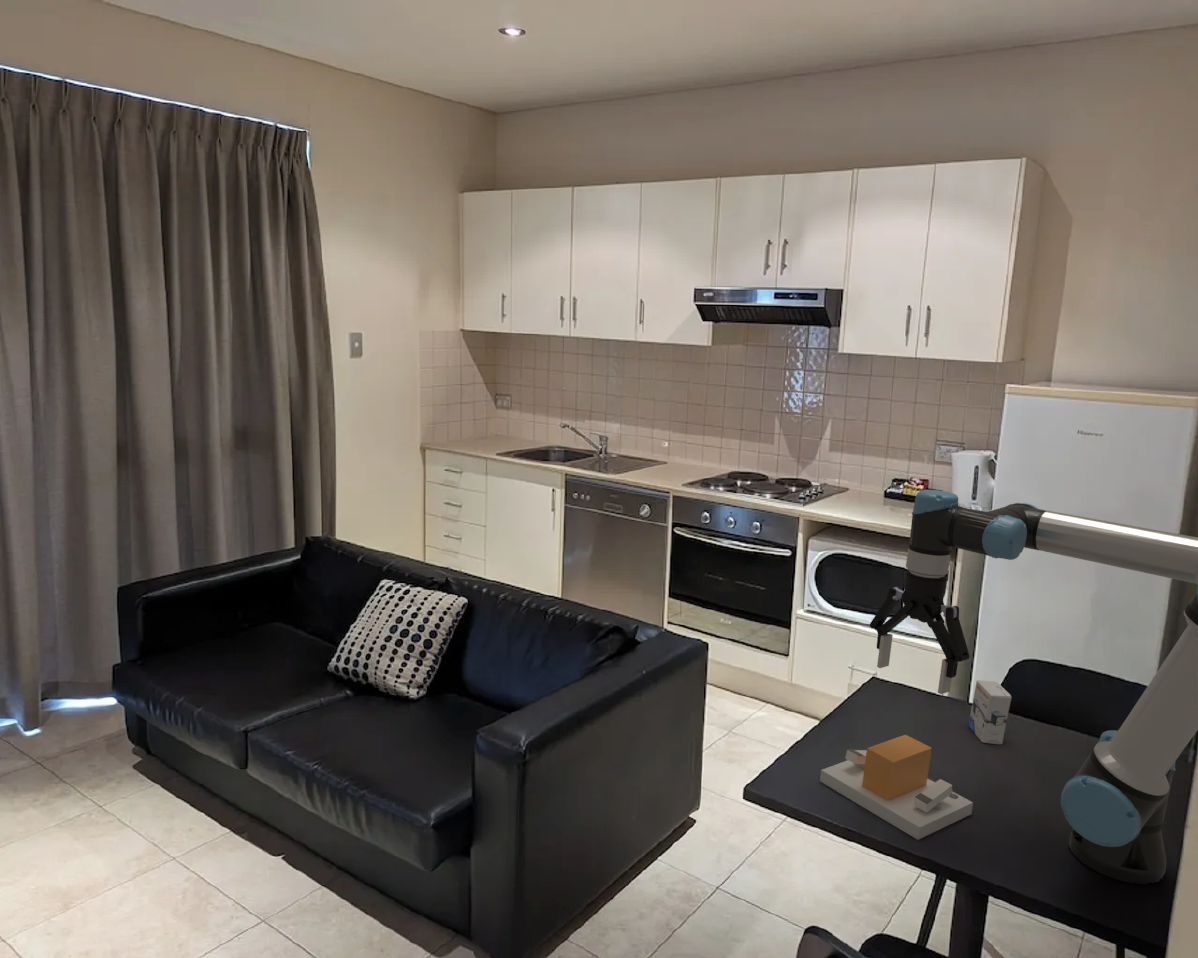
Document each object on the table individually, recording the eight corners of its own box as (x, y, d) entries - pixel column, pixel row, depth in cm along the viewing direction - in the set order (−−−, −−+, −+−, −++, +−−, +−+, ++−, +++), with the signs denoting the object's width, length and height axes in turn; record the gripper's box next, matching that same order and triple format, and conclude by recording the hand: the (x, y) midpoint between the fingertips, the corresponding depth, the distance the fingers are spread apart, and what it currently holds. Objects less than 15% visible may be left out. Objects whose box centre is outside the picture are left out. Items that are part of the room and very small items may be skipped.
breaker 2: (952, 792, 170) (952, 784, 170) (926, 812, 166) (926, 803, 166) (940, 786, 172) (940, 778, 172) (914, 805, 168) (914, 797, 168)
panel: (971, 814, 172) (974, 797, 172) (917, 839, 162) (920, 821, 162) (873, 761, 190) (875, 745, 190) (819, 781, 181) (821, 764, 180)
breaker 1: (878, 764, 183) (881, 755, 183) (855, 763, 179) (858, 754, 178) (867, 758, 186) (870, 749, 185) (844, 758, 181) (847, 749, 181)
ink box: (967, 725, 211) (974, 679, 208) (988, 727, 211) (996, 680, 208) (982, 743, 202) (990, 695, 200) (1004, 744, 202) (1012, 696, 200)
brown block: (926, 785, 177) (932, 747, 175) (888, 800, 170) (893, 762, 169) (900, 770, 182) (905, 734, 180) (861, 785, 175) (867, 748, 174)
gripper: (999, 588, 160) (983, 699, 164) (883, 553, 180) (871, 653, 183) (976, 594, 155) (959, 707, 159) (859, 557, 175) (847, 659, 179)
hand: (912, 678), depth 171 cm, fingers open, 13 cm apart
